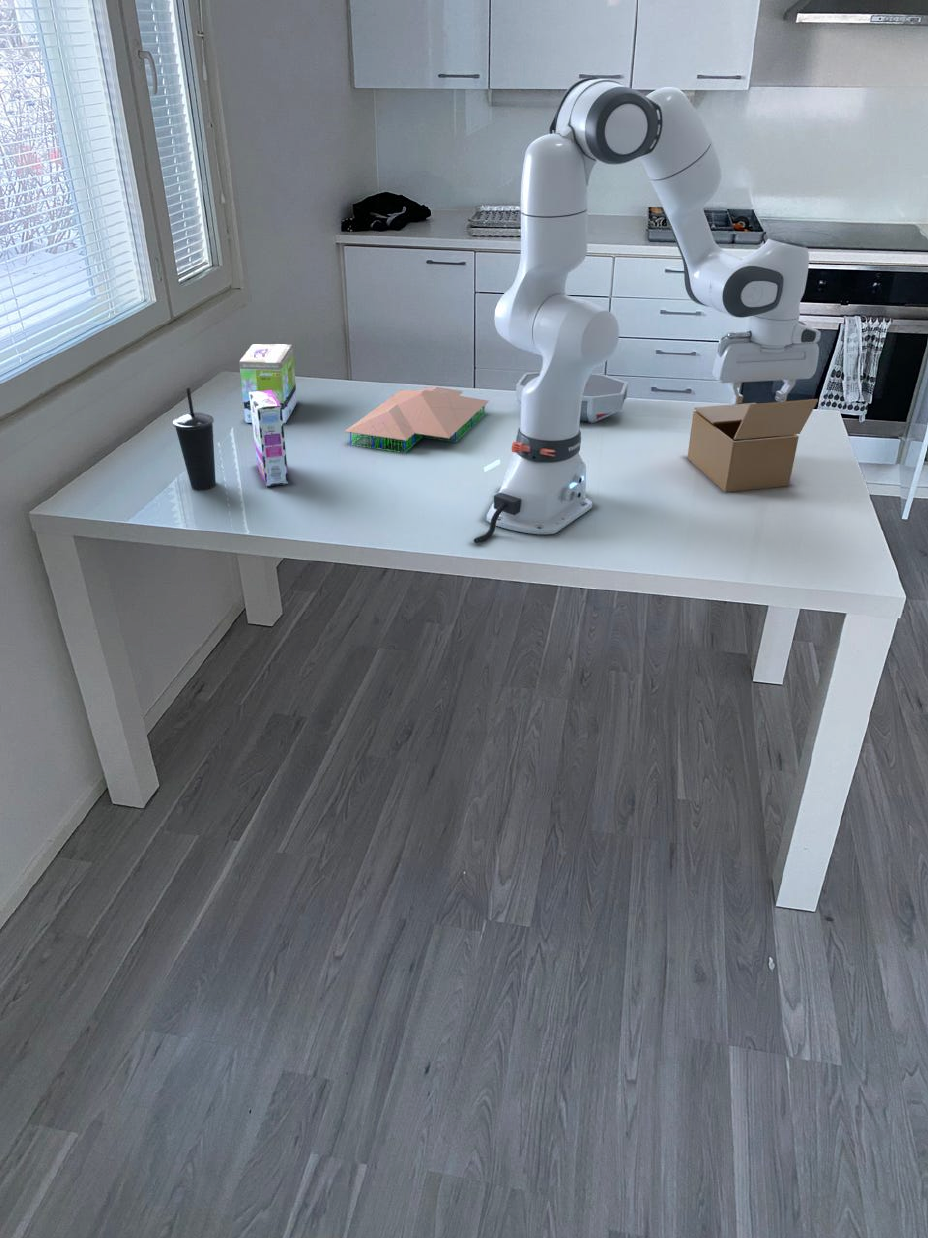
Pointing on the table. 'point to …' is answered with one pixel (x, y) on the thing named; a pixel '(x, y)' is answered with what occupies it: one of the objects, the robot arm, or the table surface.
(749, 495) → the table surface
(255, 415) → the candy bar box
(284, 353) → the tea box
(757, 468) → the carton
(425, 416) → the house
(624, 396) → the first aid kit
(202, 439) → the drinking cup
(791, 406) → the flap
